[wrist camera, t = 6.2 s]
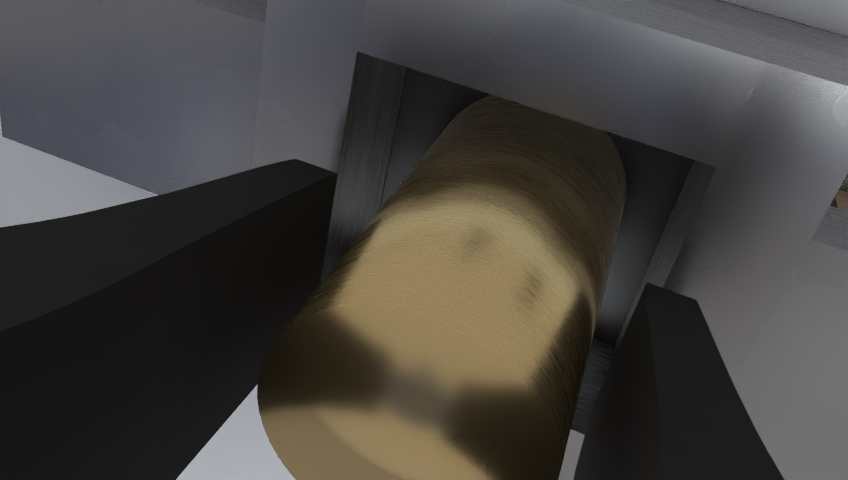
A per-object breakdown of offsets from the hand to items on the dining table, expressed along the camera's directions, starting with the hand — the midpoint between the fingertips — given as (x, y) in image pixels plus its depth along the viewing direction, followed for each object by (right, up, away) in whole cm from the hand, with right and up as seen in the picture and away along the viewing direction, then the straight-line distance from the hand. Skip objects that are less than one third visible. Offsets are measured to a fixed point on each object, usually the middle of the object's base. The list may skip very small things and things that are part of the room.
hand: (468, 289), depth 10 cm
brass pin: (+1, +2, +3) cm, 3 cm away
